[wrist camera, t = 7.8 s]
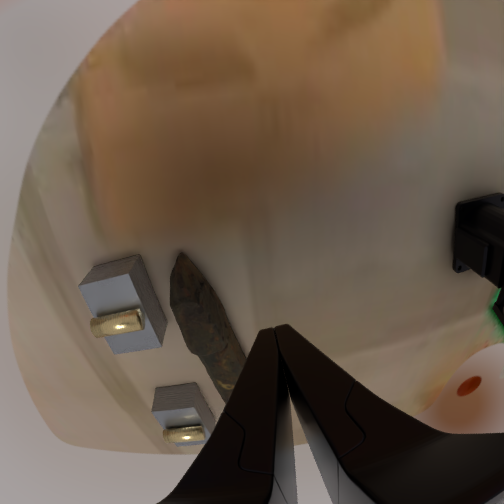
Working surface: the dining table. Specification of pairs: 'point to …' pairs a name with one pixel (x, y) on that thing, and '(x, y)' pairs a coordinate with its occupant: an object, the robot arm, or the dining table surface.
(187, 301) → the hand tool
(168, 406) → the end link
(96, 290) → the end link
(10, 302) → the dining table surface
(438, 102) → the dining table surface
